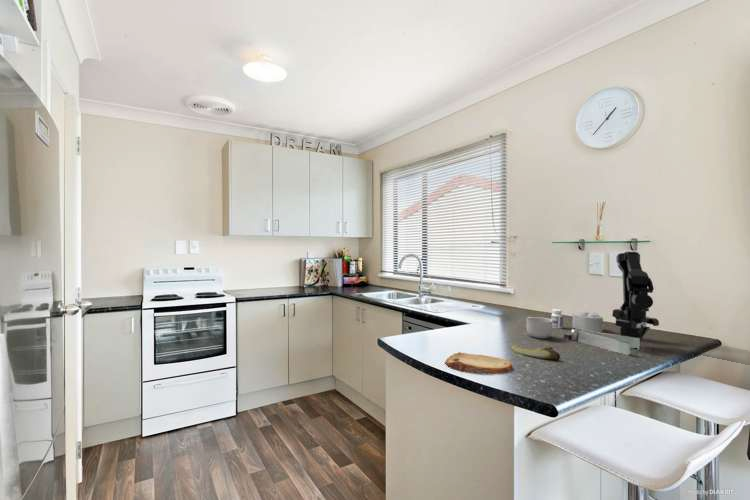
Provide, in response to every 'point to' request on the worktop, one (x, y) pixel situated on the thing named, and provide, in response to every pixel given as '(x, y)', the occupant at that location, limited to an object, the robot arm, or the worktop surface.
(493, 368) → the bread slice
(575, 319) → the lumpy-topped squat cylinder
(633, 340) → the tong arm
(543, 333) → the teacup
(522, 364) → the worktop surface
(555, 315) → the pill bottle
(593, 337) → the tongs fixed arm
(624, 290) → the robot arm
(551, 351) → the olive green elongated piece
